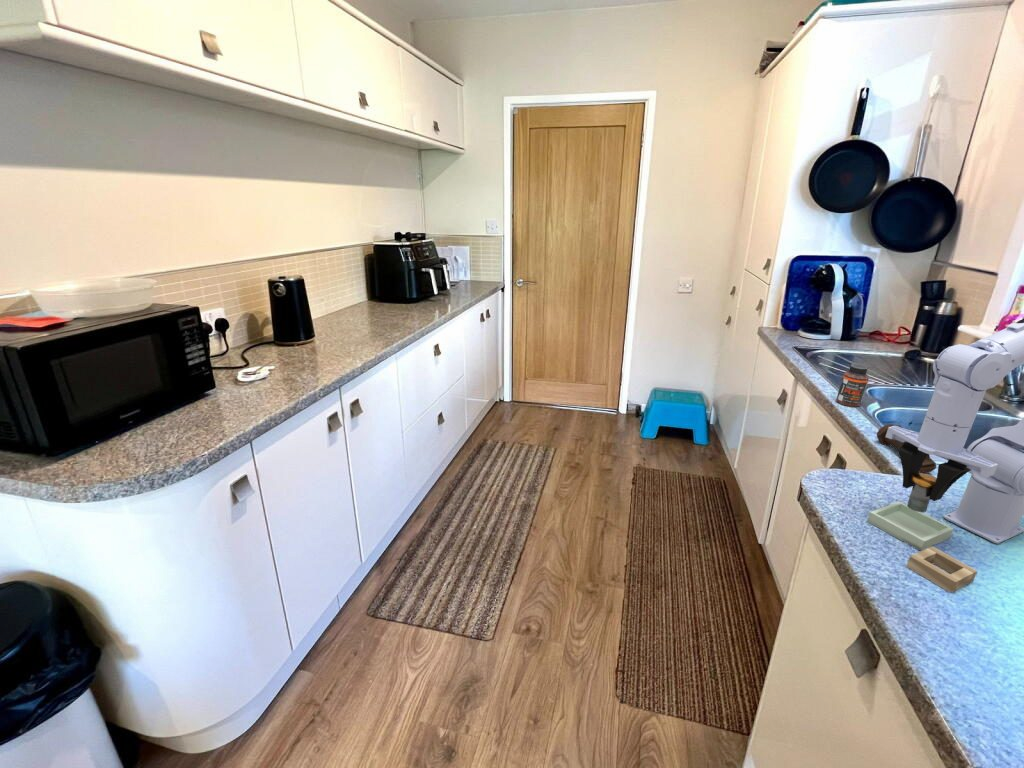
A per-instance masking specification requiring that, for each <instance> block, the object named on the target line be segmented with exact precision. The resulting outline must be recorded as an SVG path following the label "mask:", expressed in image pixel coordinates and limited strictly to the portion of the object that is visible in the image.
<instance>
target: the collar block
mask: <svg viewBox="0 0 1024 768" xmlns="http://www.w3.org/2000/svg"><path fill="white" fill-rule="evenodd" d="M905 567H906V568H907V569H910V570H912V571H913V572H914V573H916V574H918V575H920V576H921V577H923V578H925V579H926V580H928V581H930V582H931V583H933V584H935V585H937V587H940V588H941V589H943V590H945V591H947V592H948V593H950V594H952V593H953V592H956V591H958V590H959V589H962V588H963V587H965V586H967V585H968V584H971V583H973V582H974V580H975V578H976V576H977V573H978V570H977V569H975V568H973V567H971V566H969V565H968V564H966V563H964V562H963V561H960V560H958V559H957V558H955V557H953V556H951V555H949V554H947V553H946V552H944V551H942V550H939V549H938V548H936V547H934V546H931V547H929V548H927V549H925V550H922V551H919V552H916V553H914V554H912V555H910V556H909V558H908V560H907V563H906V565H905Z"/></svg>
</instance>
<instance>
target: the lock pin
mask: <svg viewBox="0 0 1024 768" xmlns="http://www.w3.org/2000/svg"><path fill="white" fill-rule="evenodd" d="M936 479H937V476H933V475H931V474H928V473H924V472H919V473H914V474H913V475H912V478H911V480H912V481H913V482H914V485H913V486H912V487H911V490H910V491H911V492H910V495H909V498H908V501H907V504H906V505H907V506H908V507H909V508H910V509H912V510H914V511H918V512H922V513H925V512H927V510H928V507H929V504H930V501H931V500H930V495H931V492H932V490H933V488H934V485H935V483H936Z"/></svg>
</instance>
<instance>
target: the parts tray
mask: <svg viewBox="0 0 1024 768" xmlns="http://www.w3.org/2000/svg"><path fill="white" fill-rule="evenodd" d="M866 522H867V523H869V524H871V525H873V526H875V527H876V528H878V529H880V530H881V531H884V533H887V534H889V535H890V536H892V537H894V538H896V539H898V541H899V540H900V541H901V542H903V541H904V542H903V543H905V542H906V543H905V544H907V543H908V544H910V545H911V546H910V545H909V546H910V547H912V546H913V547H912V548H914V547H915V548H914V549H916V550H917V549H918V551H919V550H920V551H923V550H924V549H927V548H929V547H932V546H933V545H934V546H936V545H938V544H941V543H942V542H944V541H947V540H949V539H951V537H952V535H953V532H954V529H955V528H954V527H951V526H950V525H948V524H945V523H944V522H942V521H939V520H938V519H936V518H934V517H932V516H930V515H928V514H925V512H918V511H914V510H912V509H910V508H909V507H908V506H907V504H905V503H903V502H901V501H897V502H893V503H891V504H887V505H885V506H883V507H880V508H878V509H874V510H871V511H870V512H869V513H868V517H867V520H866ZM908 544H907V545H908ZM934 546H933V547H934ZM920 551H919V552H920Z"/></svg>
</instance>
